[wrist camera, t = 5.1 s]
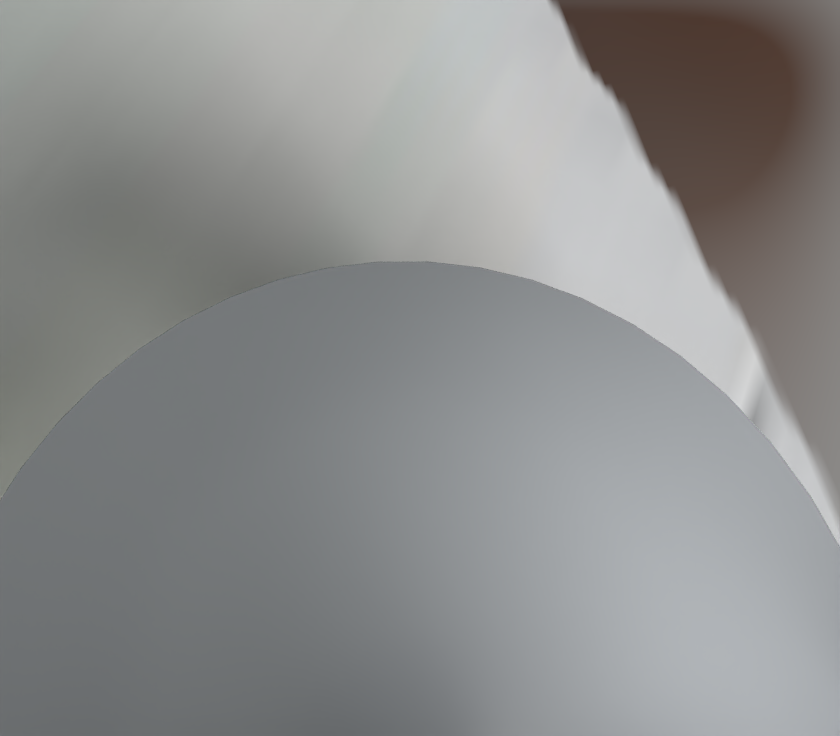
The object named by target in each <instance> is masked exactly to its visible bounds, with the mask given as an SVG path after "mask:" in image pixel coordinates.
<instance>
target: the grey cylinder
mask: <svg viewBox="0 0 840 736" xmlns="http://www.w3.org/2000/svg"><path fill="white" fill-rule="evenodd" d="M0 736H840V547H839V545H838V543H837V541H836V540H835V538H834V536H833V534H832V533H831V531H830V529H829V527H828V526H827V524H826V522H825V520H824V519H823V517H822V515H821V513H820V512H819V510H818V508H817V506H816V504H815V503H814V501H813V499H812V497H811V496H810V495H809V493H808V492H807V491H806V489H805V488H804V486H803V485H802V484H801V482H800V481H799V480H798V478H797V477H796V476H795V474H794V473H793V471H792V470H791V469H790V467H789V466H788V465H787V463H786V462H785V461H784V459H783V458H782V456H781V455H780V454H779V452H778V451H777V450H776V448H775V447H774V446H773V444H772V443H771V442H770V441H769V440H768V439H767V437H766V436H765V435H764V434H763V433H762V432H761V431H760V430H759V429H758V428H757V427H756V426H755V425H754V423H753V422H752V421H751V420H750V419H749V418H748V417H747V416H746V415H745V414H744V413H743V412H742V411H741V410H740V408H739V407H738V406H737V405H736V404H735V403H734V402H733V401H732V400H731V399H730V398H729V397H728V396H727V395H726V394H725V393H724V392H723V391H721V390H720V389H719V388H718V387H717V386H716V385H714V384H713V383H712V382H711V381H710V380H709V379H707V378H706V377H705V376H704V375H703V374H701V373H700V372H699V371H698V370H697V369H696V368H694V367H693V366H692V365H691V364H690V363H689V362H687V361H686V360H685V359H684V358H683V357H682V356H680V355H679V354H677V353H676V352H674V351H673V350H671V349H670V348H668V347H667V346H665V345H664V344H662V343H661V342H659V341H658V340H656V339H655V338H653V337H652V336H650V335H649V334H647V333H646V332H644V331H643V330H641V329H640V328H638V327H637V326H635V325H634V324H632V323H630V322H628V321H626V320H624V319H622V318H620V317H618V316H616V315H614V314H612V313H610V312H608V311H606V310H604V309H602V308H600V307H598V306H596V305H594V304H592V303H590V302H589V301H587V300H585V299H583V298H580V297H577V296H574V295H572V294H569V293H566V292H564V291H561V290H558V289H555V288H553V287H550V286H547V285H544V284H542V283H539V282H536V281H534V280H530V279H526V278H522V277H518V276H514V275H509V274H505V273H501V272H497V271H493V270H488V269H484V268H480V267H471V266H462V265H454V264H445V263H436V262H372V263H364V264H355V265H347V266H339V267H331V268H325V269H321V270H316V271H312V272H308V273H304V274H300V275H296V276H292V277H288V278H283V279H279V280H276V281H273V282H270V283H268V284H265V285H262V286H260V287H257V288H254V289H251V290H249V291H246V292H243V293H240V294H238V295H235V296H232V297H230V298H228V299H226V300H224V301H222V302H220V303H218V304H216V305H214V306H212V307H210V308H208V309H206V310H204V311H202V312H200V313H198V314H195V315H193V316H191V317H189V318H187V319H185V320H183V321H182V322H180V323H179V324H177V325H176V326H174V327H173V328H171V329H169V330H168V331H166V332H165V333H163V334H162V335H160V336H159V337H157V338H156V339H154V340H152V341H151V342H149V343H148V344H146V345H145V346H143V347H142V348H140V349H139V350H137V351H136V352H135V353H134V354H132V355H131V356H130V357H129V358H127V359H126V360H125V361H124V362H123V363H121V364H120V365H119V366H118V367H116V368H115V369H114V370H113V371H111V372H110V373H109V374H108V375H107V376H105V377H104V378H103V379H102V380H100V381H99V382H98V383H97V384H96V385H95V386H94V387H93V388H92V389H91V390H90V391H89V392H88V393H87V394H86V395H85V396H84V397H83V398H82V399H81V400H80V401H79V402H78V403H77V404H76V405H75V406H74V407H73V408H72V409H71V410H70V411H69V412H68V413H67V414H66V415H65V416H64V417H63V418H62V419H61V420H60V421H59V422H58V423H57V424H56V425H55V427H54V428H53V429H52V430H51V432H50V433H49V434H48V435H47V436H46V438H45V439H44V440H43V441H42V443H41V444H40V445H39V446H38V448H37V449H36V450H35V451H34V453H33V454H32V455H31V456H30V458H29V459H28V460H27V461H26V463H25V464H24V465H23V466H22V467H21V469H20V471H19V472H18V474H17V475H16V477H15V478H14V480H13V481H12V483H11V484H10V486H9V487H8V489H7V491H6V492H5V494H4V495H3V497H2V498H1V500H0Z"/></svg>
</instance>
